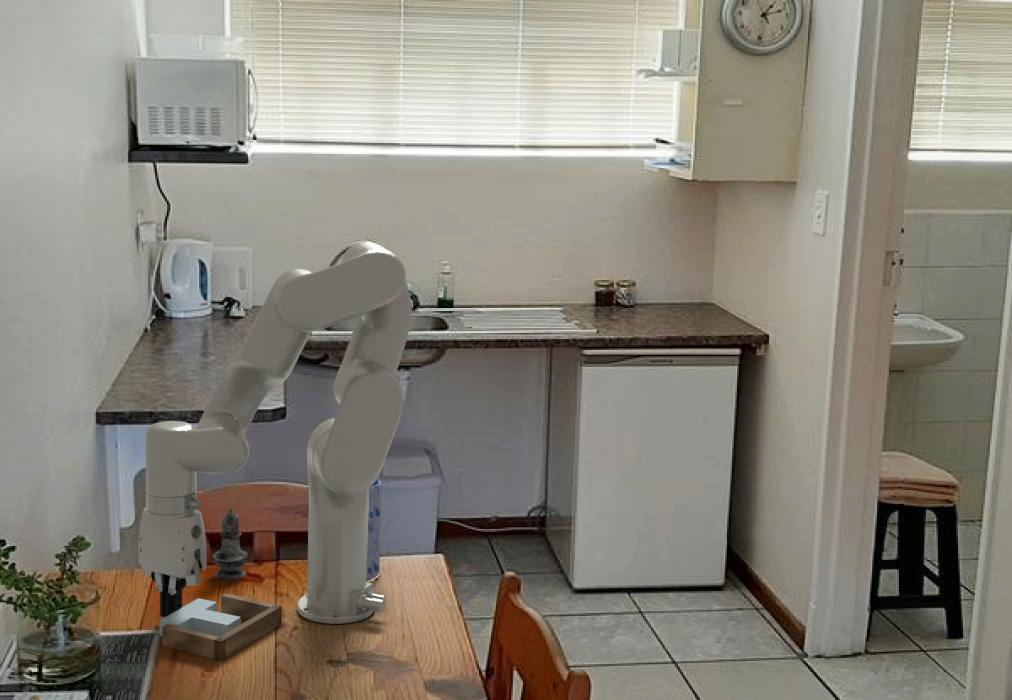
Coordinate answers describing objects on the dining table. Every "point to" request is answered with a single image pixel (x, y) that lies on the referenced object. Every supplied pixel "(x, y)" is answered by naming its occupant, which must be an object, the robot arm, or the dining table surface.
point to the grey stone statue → (230, 550)
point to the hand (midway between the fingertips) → (171, 614)
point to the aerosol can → (374, 530)
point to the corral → (219, 648)
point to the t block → (202, 618)
